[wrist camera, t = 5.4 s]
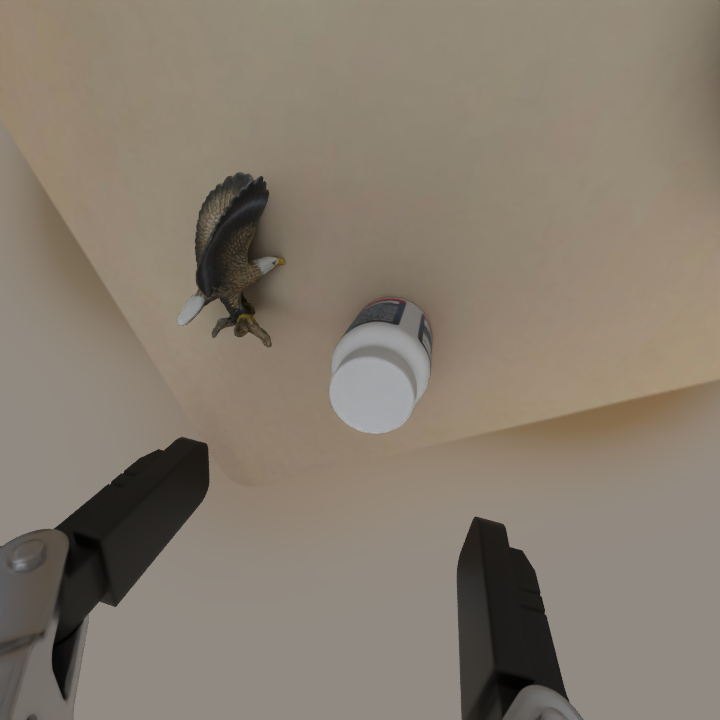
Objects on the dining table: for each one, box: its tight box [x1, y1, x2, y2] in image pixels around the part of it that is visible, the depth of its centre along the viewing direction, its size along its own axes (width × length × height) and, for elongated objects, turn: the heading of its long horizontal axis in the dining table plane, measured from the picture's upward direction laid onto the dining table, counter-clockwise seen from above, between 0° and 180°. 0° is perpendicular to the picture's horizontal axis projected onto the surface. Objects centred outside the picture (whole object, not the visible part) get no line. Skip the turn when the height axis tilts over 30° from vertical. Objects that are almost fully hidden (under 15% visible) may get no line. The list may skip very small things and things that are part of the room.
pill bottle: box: [329, 297, 432, 434], centre depth 20 cm, size 5×5×9 cm
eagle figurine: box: [177, 172, 285, 347], centre depth 22 cm, size 8×7×9 cm
